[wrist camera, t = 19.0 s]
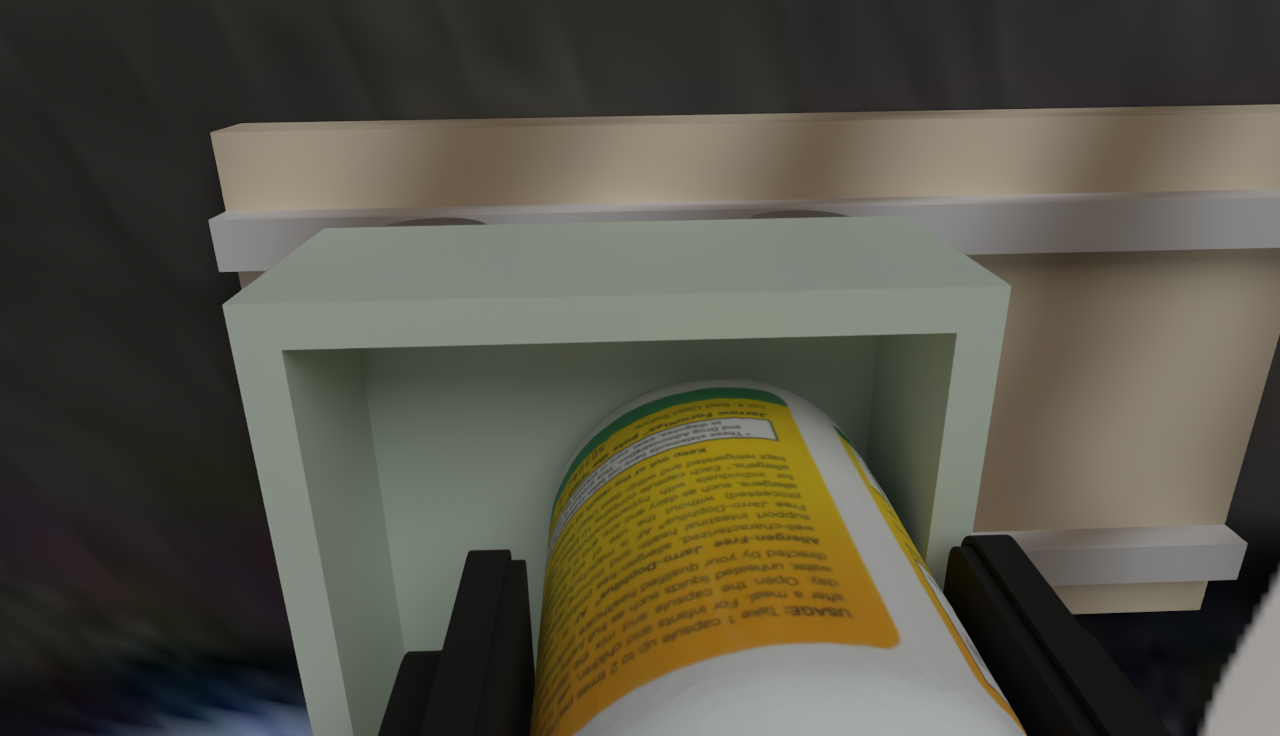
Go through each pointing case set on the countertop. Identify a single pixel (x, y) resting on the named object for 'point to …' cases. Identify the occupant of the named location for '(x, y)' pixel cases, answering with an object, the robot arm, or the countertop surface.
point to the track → (958, 214)
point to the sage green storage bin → (571, 394)
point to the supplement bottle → (743, 584)
